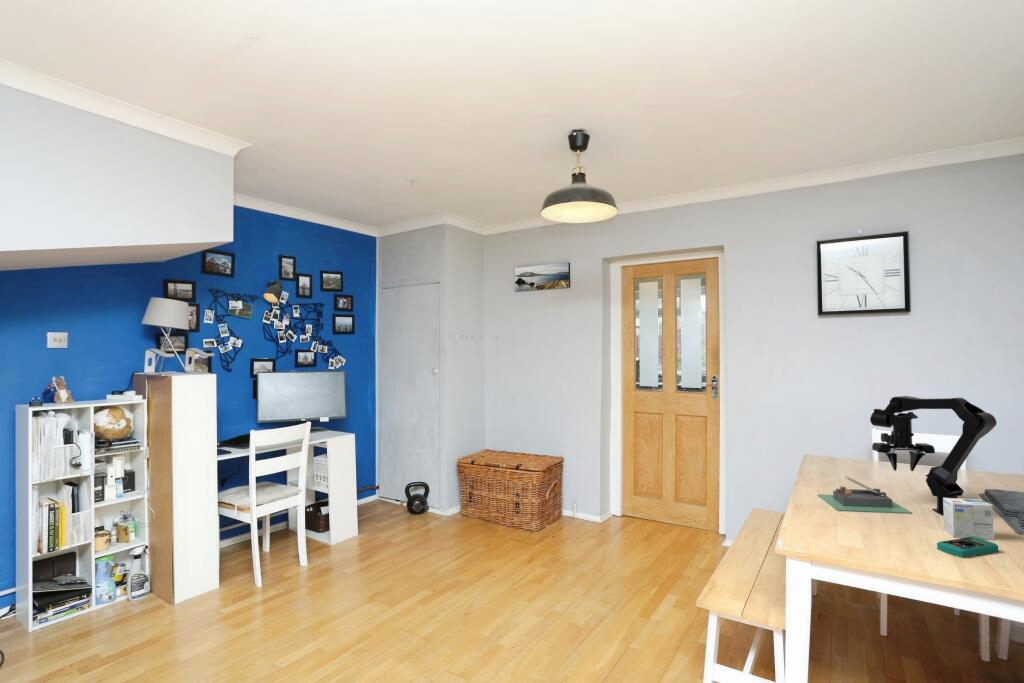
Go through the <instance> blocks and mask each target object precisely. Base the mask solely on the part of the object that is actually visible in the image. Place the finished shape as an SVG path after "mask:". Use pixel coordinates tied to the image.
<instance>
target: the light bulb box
mask: <svg viewBox="0 0 1024 683" xmlns="http://www.w3.org/2000/svg"><path fill="white" fill-rule="evenodd" d="M993 506H994V505H993V504H992V503H989V502H987V501H985V500H983V499H980V498H961V497H960V498H943V510H944V515H943V530H944V531H945V532H946V533H947V534H949V535H951V536H952V537H953V538H966V537H971V536H972V537H976V538H980V539H983V540H995V539H994V538H995V537H994V536H995V534H994V531H995V530H994V507H993Z"/></svg>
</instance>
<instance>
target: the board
mask: <svg viewBox="0 0 1024 683" xmlns="http://www.w3.org/2000/svg"><path fill="white" fill-rule="evenodd" d="M817 497H818V498H820V499H822V500H823V501H824V502H825V503H826V504H828V505H829V506H831V507H832V508H833V509H835V510H836V511H837V512H852V513H853V512H855V513H857V512H858V513H881V514H882V513H883V514H907V515H908V514H909V515H911V514H912V515H913V512H912V511H910V510H908V509H907V508H905V507H903V506H902V505H899V503H896V502H895V501H894V500H892V508H882V507H854V506H843V505H842V504H840V503H839V502H838V501H836V500H835V499H834V498H833V494H822V493H821V494H817Z"/></svg>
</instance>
